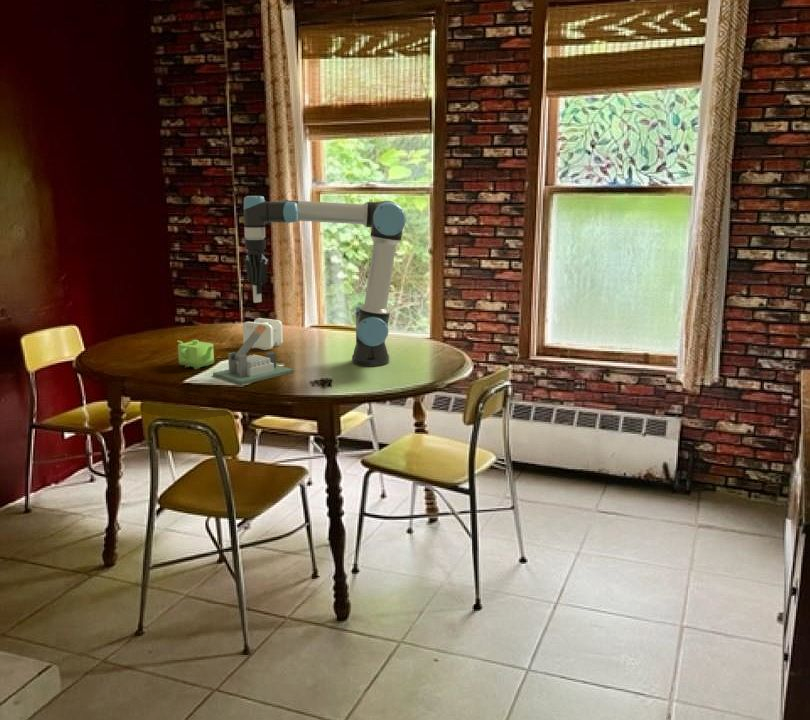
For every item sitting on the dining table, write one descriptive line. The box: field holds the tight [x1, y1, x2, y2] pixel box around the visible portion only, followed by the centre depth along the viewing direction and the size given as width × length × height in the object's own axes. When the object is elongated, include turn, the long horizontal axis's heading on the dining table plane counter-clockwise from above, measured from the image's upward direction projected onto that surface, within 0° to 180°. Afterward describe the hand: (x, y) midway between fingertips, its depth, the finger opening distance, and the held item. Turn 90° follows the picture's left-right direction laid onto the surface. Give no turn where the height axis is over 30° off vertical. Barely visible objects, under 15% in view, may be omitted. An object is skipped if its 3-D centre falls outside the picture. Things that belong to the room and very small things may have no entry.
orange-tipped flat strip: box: [232, 325, 266, 361], centre depth 295 cm, size 5×17×2 cm
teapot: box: [176, 339, 215, 370], centre depth 309 cm, size 15×13×11 cm
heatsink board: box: [212, 351, 294, 386], centre depth 298 cm, size 18×24×9 cm
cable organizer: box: [242, 317, 284, 351], centre depth 342 cm, size 15×11×12 cm
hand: (257, 302), depth 295 cm, fingers closed
